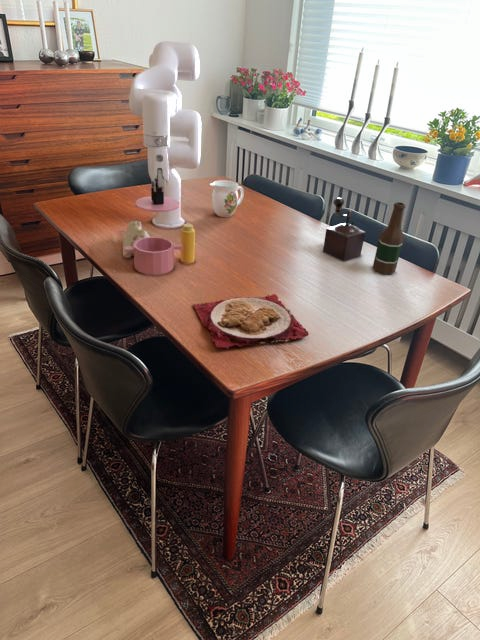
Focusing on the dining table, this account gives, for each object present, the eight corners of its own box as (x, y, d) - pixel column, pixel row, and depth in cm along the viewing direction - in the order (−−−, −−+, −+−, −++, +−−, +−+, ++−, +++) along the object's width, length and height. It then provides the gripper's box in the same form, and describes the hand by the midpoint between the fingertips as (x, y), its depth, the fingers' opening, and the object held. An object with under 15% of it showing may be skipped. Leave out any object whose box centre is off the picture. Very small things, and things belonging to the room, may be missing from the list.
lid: (132, 200, 156) (132, 181, 152) (175, 198, 160) (175, 180, 156) (138, 214, 145) (137, 194, 142) (183, 213, 149) (183, 193, 146)
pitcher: (250, 214, 210) (253, 182, 202) (217, 221, 199) (218, 188, 192) (233, 206, 216) (236, 175, 209) (201, 213, 206) (202, 181, 199)
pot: (124, 260, 162) (122, 238, 158) (177, 257, 167) (177, 235, 163) (128, 277, 152) (127, 254, 148) (185, 273, 157) (185, 250, 153)
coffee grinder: (362, 255, 180) (373, 208, 171) (343, 261, 174) (353, 213, 165) (331, 241, 190) (339, 195, 181) (311, 246, 184) (319, 200, 175)
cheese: (146, 268, 163) (168, 232, 167) (130, 256, 158) (153, 218, 162) (123, 266, 174) (143, 231, 178) (107, 254, 169) (128, 219, 173)
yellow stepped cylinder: (179, 259, 166) (179, 222, 159) (192, 258, 168) (193, 222, 161) (181, 265, 163) (182, 228, 156) (195, 264, 164) (196, 227, 157)
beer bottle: (395, 268, 173) (412, 202, 160) (394, 277, 166) (412, 209, 154) (373, 264, 174) (388, 198, 162) (371, 272, 168) (386, 204, 156)
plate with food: (309, 340, 130) (311, 329, 128) (216, 351, 121) (217, 339, 119) (275, 298, 149) (276, 288, 147) (193, 305, 140) (193, 294, 139)
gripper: (174, 147, 136) (174, 210, 146) (164, 134, 149) (165, 194, 159) (147, 146, 134) (149, 211, 144) (139, 134, 147) (141, 194, 157)
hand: (157, 201), depth 151 cm, fingers closed on lid, 2 cm apart
